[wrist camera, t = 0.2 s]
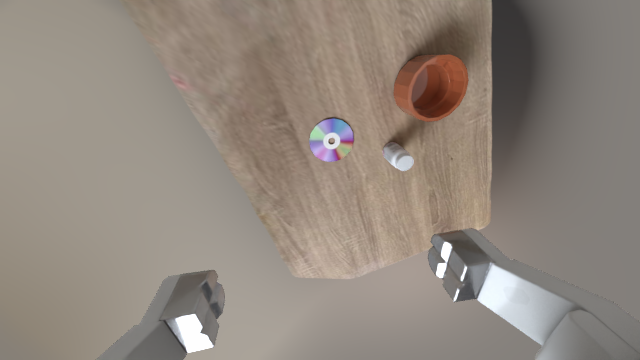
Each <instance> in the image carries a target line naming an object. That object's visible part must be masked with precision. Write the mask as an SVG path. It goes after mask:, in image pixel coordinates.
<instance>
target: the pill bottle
mask: <svg viewBox="0 0 640 360" xmlns="http://www.w3.org/2000/svg"><path fill="white" fill-rule="evenodd" d="M383 156H384V157H385V158H386V159H387V160H388V161H389V162H390V163H391V164H392V165H393V166H394V167H395V168H398V169H399V170H401V171H406V170H408V169H410V168H411V167H412V165H413V163H414V160H413V158H412V157H411V156H410V154H409V152H407V151H406V150H405V149H404V148H402V147H401V146H400V145H398V144H397V143H394V142H391V143H388V144H387V145H386V146H385V147H384V148H383Z"/></svg>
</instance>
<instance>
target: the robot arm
mask: <svg viewBox="0 0 640 360" xmlns="http://www.w3.org/2000/svg"><path fill="white" fill-rule="evenodd" d="M431 243H432V244H433V247H432V248H431V249H430V250H429V253H428V261H429V265H430V267H431V269H432V271H433V272H434V274H435V275H436V276H438V277H440V278H441V279H443V287H444V288H445V290H446V291H447V292H448V294H449V295H450V297H451V298H452V299H453V301H454V302H458V301H465V300H471V299H477V300H478V301H479V302H481V303H482V304H484V305H485V306H487V307H488V308H489V309H491V310H492V311H494V312H495V313H496V314H498V315H499V316H501V317H502V318H504V319H505V320H506V321H508V322H509V323H511V324H512V325H514V326H515V327H516V328H518V329H519V330H521V331H522V332H523V333H525V334H526V335H528V336H529V337H531V338H532V339H533V340H535V341H537V342H538V343H539V344H541V345H542V347H541V348H540V350H539V351H538V352H537V354H536V355H535V360H640V322H639V321H638V320H637V319H635V318H634V317H633V316H631V315H630V314H629V313H627V312H626V311H625V310H623V309H622V308H621V307H619V306H618V305H617V304H615V303H614V302H612V301H610V300H607V299H605V298H603V297H600V296H598V295H596V294H594V293H591V292H589V291H587V290H584V289H582V288H579V287H577V286H575V285H573V284H570V283H568V282H566V281H563V280H561V279H559V278H557V277H554V276H552V275H549V274H547V273H545V272H542V271H540V270H538V269H536V268H533V267H531V266H529V265H526V264H524V263H522V262H519V261H517V260H510V259H509V258H507V256H505V255H504V254H503V253H502V252H501V251H500V250H499V249H498V248H496V247H495V246H494V245H493V244H492V243H491V242H489V240H487V239H486V238H485V237H484V236H483V235H482V234H481V233H479V232H478V231H477V230H476V229H474V228H469V229H463V230H459V231H458V230H456V231H450V232H445V233H439V234H434V235H433V236H432V238H431ZM217 278H218V276H217V273H216V271H215V270H209V271H201V272H194V273H186V274H180V275H173V276H168V277H167V278H166V279H165V280H164V281H163V282H162V284H161V286H160V288H159V290H158V292H157V293H156V296H155V297H154V299H153V301H152V303H151V304H150V306H149V308H148V310H147V312H146V313H145V316H144V317H143V319H142V321H141V323H140V324H139V325H135V326H133V327H132V328H131V329H130V330H129V331H128V332H127V333H125V334H124V335H123V336H122V337H121V338H120V339H119V340H117V341H116V342H115V343H114V344H113V345H112V346H111V347H109V348H108V349H107V350H106V351H105V352H104V353H103V354H102V355H100V356H99V357H98V358H97V359H96V360H183V359H184V358H185V357H186V355H187V353H188V352H193V351H198V350H202V349H207V348H212V347H214V345H215V340H216V337H217V333H218V328H219V324H218V322H217V320H216V319H217V318H218V317H219V316H220V315H221V314H222V312H223V308H224V299H225V295H224V289H223V287H222V285H221V284H219V283H218V282H217Z"/></svg>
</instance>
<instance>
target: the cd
mask: <svg viewBox="0 0 640 360" xmlns="http://www.w3.org/2000/svg"><path fill="white" fill-rule="evenodd" d="M330 138H334V139H335V143H334V144H329V143H328V140H329V139H330ZM353 141H354V140H353V132H352V130H351V128H350V126H349V125H348V124H346V123H345V122H344V121H342V120H339V119H334V118H332V119H327V120H324V121H322V122H320V123H319V124H317V125H316V126H315V128H314V129H313V131H312V132H311V135H310V140H309V143H310V148H311V150H312V152H313V153H314V155H315V156H316V157H318V158H319V159H321V160H323V161H328V162H332V161H337V160H340V159H341V158H343V157H345V156H346V155H347V154H348V152H349V151H350V150H351V148H352V145H353Z"/></svg>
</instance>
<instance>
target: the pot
mask: <svg viewBox="0 0 640 360" xmlns="http://www.w3.org/2000/svg"><path fill="white" fill-rule="evenodd" d="M467 85H468V73H467V68H466V66H465V65H464V64H463V62H462V61H461V59H460V58H457V57H455V56H453V55H451V54H429V55H419V56H417V57H415V58H414V59H412V60H410V61H408V62H407V64H406V65H405V66H404V67H403V68H402V69H401V70H400V72H399V74H398V76H397V79H396V81H395V84H394V98H395V101H396V104H397V106H398V107H399V108H400V109H401V110H402V111H403V112H405V113H407V114H409V115H411V116H413V117H415V118H417V119H420V120H423V121H426V122H430V121H438V120H440V119H442V118H444V117H446V116H448V115H450V114H451V113H452V112H453V111H454V110H455V109H456V108H457V107H458V106H459V104H460V103H461V101H462V99H463V97H464V96H465V93H466V89H467Z"/></svg>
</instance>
